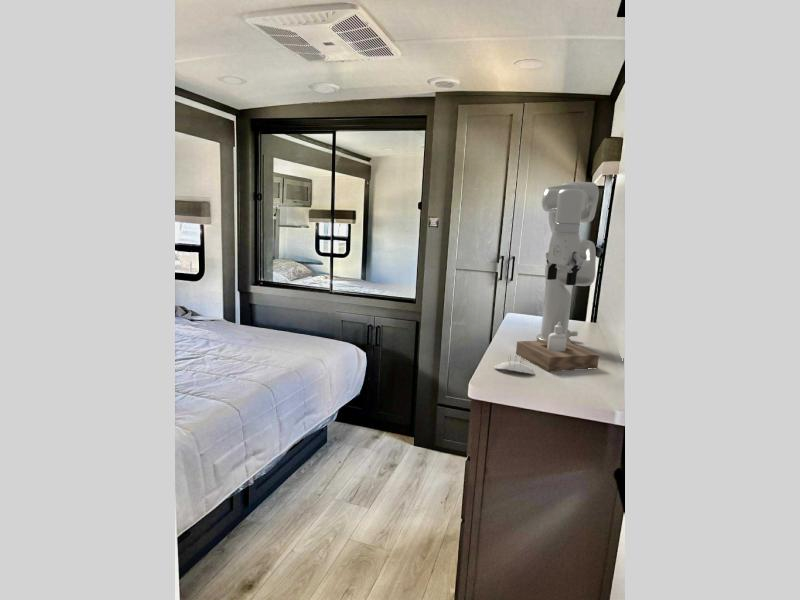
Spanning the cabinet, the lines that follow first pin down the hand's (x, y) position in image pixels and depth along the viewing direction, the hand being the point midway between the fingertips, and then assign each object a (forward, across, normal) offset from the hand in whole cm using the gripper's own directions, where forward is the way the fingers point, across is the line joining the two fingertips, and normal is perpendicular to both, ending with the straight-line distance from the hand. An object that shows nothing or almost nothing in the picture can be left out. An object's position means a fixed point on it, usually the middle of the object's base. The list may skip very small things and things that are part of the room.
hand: (560, 282), depth 145 cm
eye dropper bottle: (+24, +5, -3) cm, 25 cm away
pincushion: (+25, +12, -22) cm, 35 cm away
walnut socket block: (+25, +5, -3) cm, 26 cm away
